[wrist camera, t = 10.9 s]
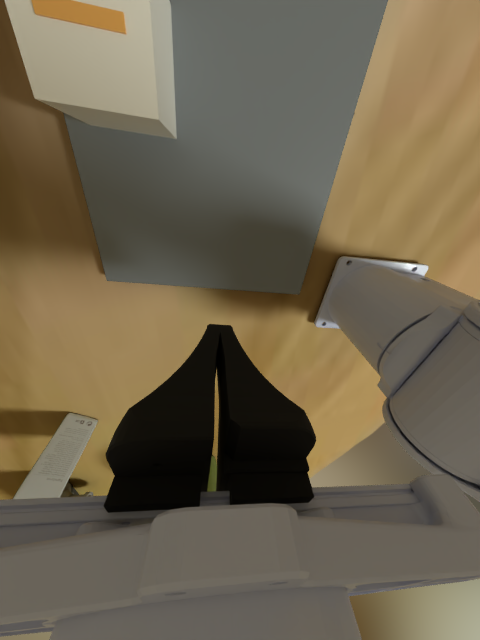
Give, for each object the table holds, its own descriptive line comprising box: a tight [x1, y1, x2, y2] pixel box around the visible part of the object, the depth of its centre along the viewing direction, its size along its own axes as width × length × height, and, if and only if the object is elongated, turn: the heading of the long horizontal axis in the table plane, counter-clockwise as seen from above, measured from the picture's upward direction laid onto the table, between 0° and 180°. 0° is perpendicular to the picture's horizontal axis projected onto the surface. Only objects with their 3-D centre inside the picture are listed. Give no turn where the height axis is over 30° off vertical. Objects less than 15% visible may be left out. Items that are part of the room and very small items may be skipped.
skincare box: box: [13, 413, 98, 499], centre depth 26 cm, size 6×4×12 cm
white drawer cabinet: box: [4, 0, 177, 139], centre depth 10 cm, size 5×5×5 cm
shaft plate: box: [63, 0, 388, 295], centre depth 13 cm, size 18×20×4 cm
